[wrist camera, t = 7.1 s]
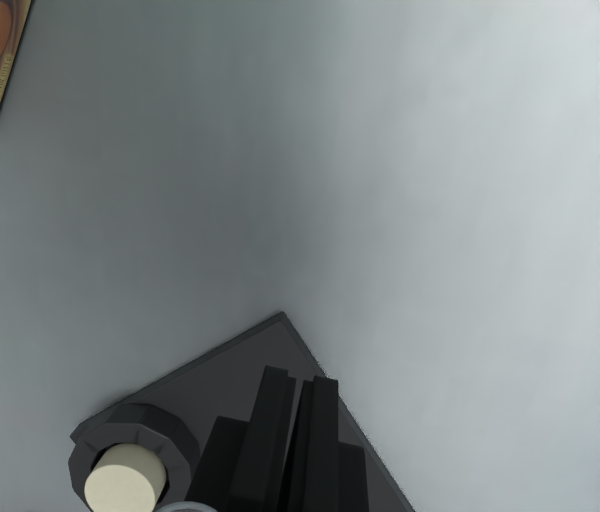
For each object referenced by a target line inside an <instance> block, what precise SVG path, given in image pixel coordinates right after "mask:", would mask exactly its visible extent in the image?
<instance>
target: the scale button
mask: <svg viewBox="0 0 600 512" xmlns="http://www.w3.org/2000/svg"><path fill="white" fill-rule="evenodd" d="M165 482H166V471H165V467H164V465H163V463H162V461H161V460H160V459H159V457H158V456H157V455H156V454H155V453H154V452H153V451H151V450H149V449H147V448H145V447H143V446H141V445H139V444H134V443H123V444H118V445H116V446H113V447H111V448H110V449H108V450H107V451H106V452H105V453H104V455H103V456H102V458H101V459H100V461H99V462H98V463H97V465H96V466H95V468H94V469H93V471H92V472H91V474H90V475H89V477H88V478H87V480H86V483H85V497H86V500H87V503H88V504H89V506H90V507H91V509H92V510H93V511H94V512H152V511H153V509H154V507H155V504H156V502H157V500H158V498H159V496H160V494H161V492H162V490H163V487H164V485H165Z"/></svg>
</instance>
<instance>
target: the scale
mask: <svg viewBox="0 0 600 512" xmlns="http://www.w3.org/2000/svg"><path fill="white" fill-rule="evenodd" d="M265 365H269V366H274V367H278V368H283V369H288V370H289V371H288V376H289V377H294V378H297V380H296V386H295V393H294V399H293V406H292V412H291V419H290V425H289V432H288V439H287V445H286V452H285V458H284V465H285V460H286V456H287V451H288V447H289V443H290V438H291V434H292V429H293V425H294V421H295V416H296V412H297V407H298V403H299V399H300V394H301V390H302V386H303V382H304V380H308V381H313V378H314V375H315V376H320V377H325V378H327V377H326V376H325V374H324V373H323V371H322V370H321V368H320V367H319V365H318V364H317V362H316V361H315V359H314V358H313V356H312V354H311V353H310V351H309V350H308V348H307V347H306V345H305V344H304V342H303V341H302V339H301V338H300V336H299V335H298V333H297V332H296V330H295V329H294V327H293V326H292V324H291V322H290V321H289V319H288V318H287V316H286V315H285V313H284V312H281V313H279V314H277V315H275V316H274V317H272V318H270V319H268V320H266V321H265V322H263V323H261V324H259V325H257V326H256V327H254V328H252V329H250V330H248V331H247V332H245V333H243V334H241V335H239V336H238V337H236V338H234V339H232V340H230V341H229V342H227V343H225V344H223V345H221V346H220V347H218V348H216V349H214V350H212V351H211V352H209V353H207V354H205V355H203V356H202V357H200V358H198V359H196V360H194V361H193V362H191V363H189V364H187V365H185V366H183V367H182V368H180V369H178V370H176V371H174V372H173V373H171V374H169V375H167V376H165V377H164V378H162V379H160V380H158V381H156V382H155V383H153V384H151V385H149V386H147V387H146V388H144V389H142V390H140V391H138V392H137V393H135V394H133V395H131V396H129V397H128V398H126V399H124V400H122V401H120V402H119V403H117V404H115V405H113V406H111V407H110V408H108V409H106V410H104V411H102V412H101V413H99V414H97V415H95V416H93V417H92V418H90V419H88V420H86V421H84V422H83V423H81V424H79V426H78V427H77V428H76V429H75V430H74V432H73V433H72V434H71V435H70V438H71V439H72V440H73V442H74V443H75V444H76V445H75V448H74V450H73V452H72V454H71V456H70V458H69V462H68V465H69V470H70V476H71V481H72V487H73V489H74V491H75V493H76V494H77V495H78V496H79V497H80V499H81V500H82V501H83V502H84V503H85V505H86V506H87V507H88V508H89V509H90V511H91V512H94V511H93V510H92V509H91V507H90V506H89V504H88V503H87V500H86V497H85V483H86V480H87V478H88V477H89V475H90V474H91V472H92V471H93V469H94V468H95V466H96V465H97V463H98V462H99V461H100V459H101V458H102V456H103V455H104V453H105V452H106V451H107V450H108V449H110V448H111V447H113V446H116V445H118V444H123V443H134V444H139V445H141V446H143V447H145V448H147V449H149V450H151V451H153V452H154V453H155V454H156V455H157V456H158V457H159V459H160V460H161V461H162V463H163V465H164V467H165V471H166V482H165V485H164V487H163V490H162V492H161V494H160V496H159V498H158V500H157V502H156V504H155V507H154V509H153V511H152V512H155V511H157V510H158V509H160V508H162V507H163V506H165V505H169V504H172V503H176V502H184V499H185V497H186V494H187V492H188V489H189V487H190V484H191V482H192V479H193V476H194V474H195V471H196V469H197V466H198V464H199V461H200V459H201V456H202V454H203V451H204V448H205V446H206V443H207V441H208V438H209V436H210V433H211V431H212V428H213V425H214V423H215V420H216V418H217V416H218V415H220V416H224V417H229V418H234V419H238V420H243V421H247V422H250V418H251V414H252V411H253V407H254V404H255V400H256V397H257V393H258V390H259V386H260V383H261V379H262V375H263V372H264V368H265ZM338 441H340V442H344V443H349V444H354V445H358V446H363V448H364V452H365V463H366V476H367V488H368V501H369V512H415V511H414V510H413V508H412V507H411V505H410V504H409V502H408V501H407V499H406V498H405V496H404V495H403V493H402V492H401V490H400V489H399V487H398V485H397V484H396V482H395V481H394V479H393V478H392V476H391V475H390V473H389V472H388V470H387V469H386V467H385V466H384V464H383V463H382V461H381V460H380V458H379V457H378V455H377V453H376V452H375V450H374V449H373V447H372V446H371V444H370V443H369V441H368V440H367V438H366V437H365V435H364V434H363V432H362V431H361V429H360V428H359V426H358V425H357V423H356V421H355V420H354V418H353V417H352V415H351V414H350V412H349V411H348V409H347V408H346V406H345V405H344V403H343V402H342V400H341V399H340V397H339V396H338ZM284 465H283V469H284ZM282 473H283V471H282Z"/></svg>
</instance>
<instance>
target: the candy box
mask: <svg viewBox="0 0 600 512" xmlns="http://www.w3.org/2000/svg"><path fill="white" fill-rule="evenodd" d="M30 2H31V0H0V102H1V99H2V96H3V93H4V89H5V86H6V83H7V80H8V77H9V73H10V70H11V67H12V63H13V60H14V57H15V53H16V50H17V47H18V43H19V40H20V37H21V33H22V30H23V27H24V23H25V20H26V16H27V13H28V9H29V6H30Z"/></svg>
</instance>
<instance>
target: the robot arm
mask: <svg viewBox="0 0 600 512" xmlns="http://www.w3.org/2000/svg"><path fill="white" fill-rule="evenodd" d="M288 371H289V370H288V369H283V368H278V367H274V366H269V365H265V368H264V372H263V375H262V379H261V383H260V386H259V390H258V393H257V397H256V400H255V404H254V407H253V411H252V414H251V418H250V422H247V421H243V420H238V419H234V418H229V417H224V416H220V415H218V416H217V418H216V420H215V423H214V425H213V428H212V431H211V433H210V436H209V438H208V441H207V443H206V446H205V448H204V451H203V454H202V456H201V459H200V461H199V464H198V466H197V469H196V471H195V474H194V476H193V479H192V482H191V484H190V487H189V489H188V492H187V494H186V497H185V499H184V502H176V503H172V504H169V505H165V506H163V507H162V508H160V509H158V510H157V511H155V512H369V501H368V488H367V476H366V463H365V452H364V448H363V446H358V445H354V444H349V443H344V442H340V441H338V380H334V379H329V378H325V377H320V376H315V375H314V378H313V381H308V380H304V382H303V386H302V390H301V394H300V399H299V403H298V407H297V412H296V416H295V421H294V425H293V429H292V434H291V438H290V443H289V447H288V451H287V456H286V460H285V465H284V458H285V452H286V445H287V439H288V432H289V425H290V419H291V412H292V406H293V399H294V393H295V386H296V380H297V378H294V377H289V376H288ZM283 465H284V469H283ZM282 471H283V473H282Z"/></svg>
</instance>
